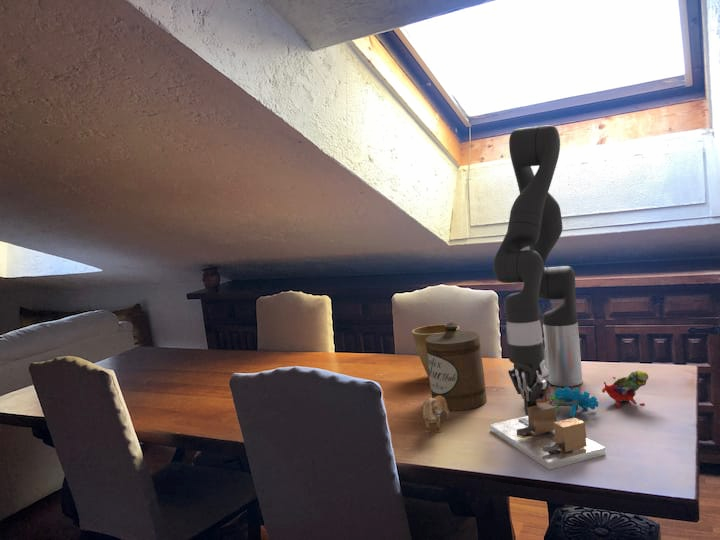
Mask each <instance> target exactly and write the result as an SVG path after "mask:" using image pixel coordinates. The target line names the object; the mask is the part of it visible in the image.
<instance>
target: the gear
mask: <svg viewBox="0 0 720 540" xmlns="http://www.w3.org/2000/svg"><path fill="white" fill-rule="evenodd" d="M590 395H591V393H590V392H587V391H584V392H583V394H582V393H581V392H580V389H579V388H577V387H575V388H573V390H572V389H571V388H570V386H568V387H563V388H562V387H560V386H557V390H554V391H553V393H552V394H551V401H554V402H553V405H554V407H556V415H557V414H558V410H559V407H570V413H569V419H570V418H575V415H576V410H577V409H578V408H579V407H580V408H581V409H582V410H585V411H587V410H589V409H590V410H595V409H596V408H597V407H599V401H598V398H597V397H595V396H593V395H592V396H590Z"/></svg>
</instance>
